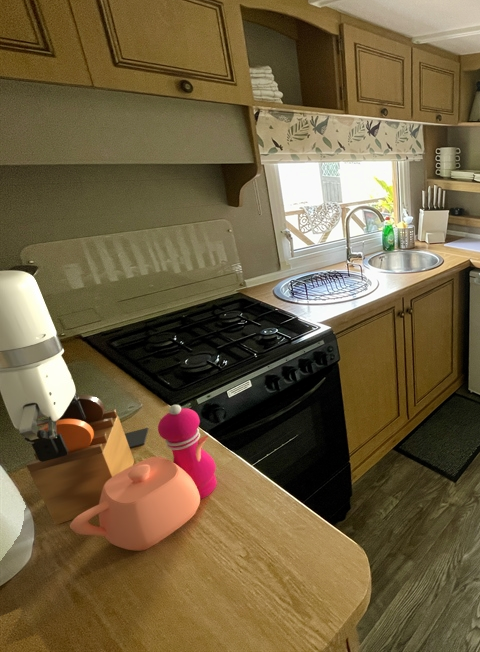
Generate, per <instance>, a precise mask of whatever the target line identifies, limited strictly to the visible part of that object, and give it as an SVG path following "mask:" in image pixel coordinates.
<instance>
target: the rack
mask: <svg viewBox="0 0 480 652" xmlns="http://www.w3.org/2000/svg"><path fill="white" fill-rule="evenodd" d="M87 424H89V425H90V426H91V427H92V429H93V432H94V436H93V439H92V441H91V443H90V445H89V447H85V448H81V449H77V450H74V451H70V452H68V454H67V455H66V456H63V457H59V458H55V459H51V460H47V461H44V462H41V461H39V459H38V457H37V455H36V453H35V451H33V456H34V457H35V460H31V461H28V462H27V464H26V468H27V470H28V472H29V474H30V476H31V478H32V480H33V483H34V484H35V487H36V489H37V490H38V493H39V495H40V497H41V498H42V500H43V503H44V504H45V506H46V509H47V511H48V513H49V515H50V517H51V519H52V521H53V523H54V525H56V526H57V525H60V524H63V523H65V522H68V521H73V520H74V519H75V518H76V517H77V516H78V515H80V514H82V513H83V512H85V511H87V510H89V509H91V508H92V507H94V506H97V505H99V501H100V497H101V493H102V490H103V487H104V484H105V483H106V482H107V481H108V480H109V479H110V478H112V477H113V476H115V475H117V474H118V473H120V472H122V471H123V470H125V469H127V468H129V467H131V466H133V465H135V459H134V457H133V453H132V450H131V448H129V445H128V442H127V439H126V436H125V431H124V428H123V426H122V423H121V420H120V417H119V415H118V412H117V409H116V408H114V409H110V410H105V412H104V414H103V417H102V419H101V420H99V421H95V422H91V423H87Z"/></svg>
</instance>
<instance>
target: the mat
mask: <svg viewBox="0 0 480 652" xmlns="http://www.w3.org/2000/svg"><path fill="white" fill-rule="evenodd" d="M148 432H149V427H145V428H142V429H141V428H140V429H136V430H133V431H130V432H126V433H125V432H124V434H125V436H126V439H127V442H128V445H129V448H130V449H133V448H138V447H140V446H144V445H145V444H146V439H147V436H148Z"/></svg>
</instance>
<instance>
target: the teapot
mask: <svg viewBox="0 0 480 652" xmlns="http://www.w3.org/2000/svg"><path fill="white" fill-rule="evenodd" d="M208 438H209V435H204V436H202V437H201V438H199V439H198V444H197V446H196V457H197V460H198V461H200V458H201V448H202V449H203V446H204V444H205V442H206V441H207V440H208ZM200 503H201V500H200V494H199V491H198V489H197V487H196V485H195V483H194V481H193V480H192V478H191V477H190V476H189V475H188V474H187V473H186V472H185V471H184V470H183V469H182V468H180V467H179V466H178V465H176V464H175V463H173V461H171V460H170V459H168V458H166V457H161V456H151V457H147V458H145V459H142V460H141V461H138V462H136V463H134V464H133V466H131V467H129V468H127V469H125V470H123V471H122V472H120V473H118V474H117V475H115V476H113V477H112V478H110V479H109V480H108V481H107V482H106V483H105V484H104V487H103V490H102V493H101V497H100V501H99V505H97V506H94V507H92V508H91V509H89V510H87V511H85V512H83V513H82V514H80V515H78V516H77V517H76V518H75V519H72V520H71V522H70V525H69V528H70V529H71V531H72V532H74V533H76V534H79V535H81V536H82V535H83V536H95V537H96V536H97V537H98V536H99V537H102V536H103V537H104V538H105V540H106V541H108V542H109V543H110V544H112V545H113V546H115V547H118V548H121V549H125V550H128V551H139V552H142V551H145V550H148V549H150V548H151V547H153V546H154V545H156V544H158V543H160V542H161V541H162V540H164V539H165V538H167V537H168V536H170V535H171V534H173V533H175V531H176V530H177V531H178V529H180V528H181V527H182V526H184V525H185V524H186V523H187V522H188V521H190V519H191V518H193V516H194V515H195V514H196V512H197V511H198V508H199V506H200ZM97 515H98V521H99V526H96V525H93V524H91V523H90V522H89V521H90V520H91V519H93V518H94V517H95V516H97Z"/></svg>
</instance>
